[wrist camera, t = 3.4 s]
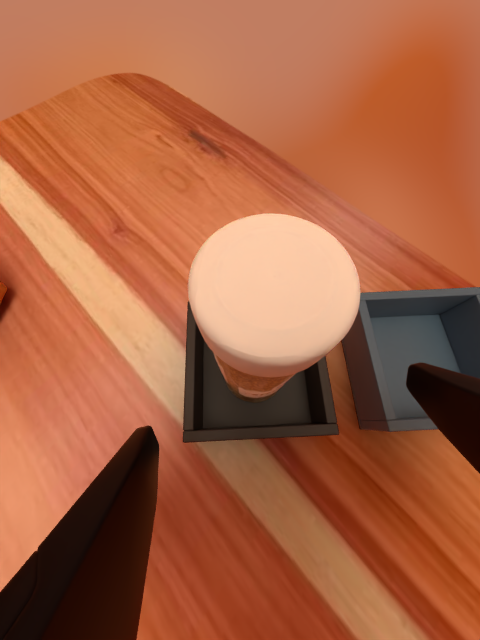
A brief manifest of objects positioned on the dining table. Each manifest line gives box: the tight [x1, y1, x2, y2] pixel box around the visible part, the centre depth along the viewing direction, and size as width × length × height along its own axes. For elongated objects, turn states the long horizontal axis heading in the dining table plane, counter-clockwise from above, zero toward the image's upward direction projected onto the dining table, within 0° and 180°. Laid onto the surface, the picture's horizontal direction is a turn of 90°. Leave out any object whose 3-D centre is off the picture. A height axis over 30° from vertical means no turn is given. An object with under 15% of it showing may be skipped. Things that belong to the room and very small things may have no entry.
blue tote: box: [342, 287, 480, 432], centre depth 17 cm, size 9×9×4 cm
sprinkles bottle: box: [188, 213, 360, 403], centre depth 12 cm, size 5×5×13 cm
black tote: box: [183, 301, 339, 443], centre depth 17 cm, size 9×9×4 cm
